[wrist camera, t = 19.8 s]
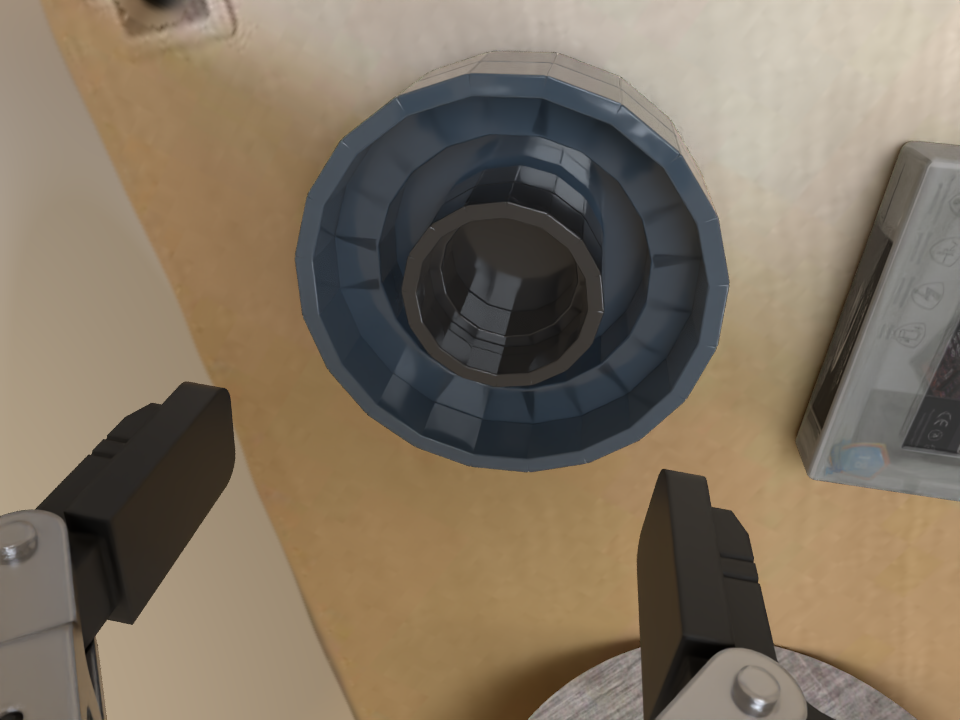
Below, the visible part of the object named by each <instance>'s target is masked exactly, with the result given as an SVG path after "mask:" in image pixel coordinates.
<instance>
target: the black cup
mask: <svg viewBox="0 0 960 720" xmlns="http://www.w3.org/2000/svg"><path fill="white" fill-rule="evenodd" d="M401 290H402V291H401V293H402V297H403V302H404V306H405V311H406V315H407V319H408V324H409V325H410V328H411V329H412V331H413V332H414V334H415V335H416V337H417V338H418V339H419V341H420V342H421V344H422V345H423V347H424V348H425V350H426V351H427V352H428V354H429V355H430V356H431V357H432V358H434V359H435V360H437V361H438V362H439V363H441V364H442V365H444V366H445V367H447V368H448V369H449V370H451V371H452V372H454V373H455V374H456V375H458V376H461V377H462V378H465V379H469V380H472V381H476V382H479V383H482V384H486V385H489V386H493V387H513V386H531V385H535V384H537V383H540V382H542V381H544V380H547V379H549V378H552V377H554V376H556V375H559V374H561V373H563V372H565V371H566V370H568V369H569V368H570V367H571V366H572V365H573V364H574V363H575V362H576V361H577V360H578V359H579V358H580V357H581V356H582V355H583V354H584V353H585V352H586V351H587V350H588V349H589V348H590V347H591V345H592V344H593V341H594V339H595V336H596V333H597V331H598V328H599V325H600V323H601V320H602V317H603V315H604V310H605V249H604V236H603V231H602V227H601V225H600V223H599V221H598V220H597V218H596V216H595V214H594V212H593V210H592V209H591V207H590V205H589V203H588V201H587V200H585V198H584V196H582V195H581V194H580V193H579V192H577V191H576V190H575V189H574V188H572V187H571V186H570V185H568V184H567V183H566V182H565V181H563V180H562V179H561V178H560V177H557V175H555V174H551V173H548V172H544V171H541V170H537V169H534V168H530V167H527V166H523V165H521V166H520V165H517V166H509V167H500V168H491V169H486V170H482V171H481V172H479V173H477V174H475V175H474V176H472V177H470V178H468V179H467V180H465V181H463V182H461V183H460V184H458V185H456V186H455V187H454V188H453V189H452V190H451V191H450V193H449V194H448V196H447V197H446V198H445V200H444V201H443V202H442V204H441V205H440V206H439V208H438V209H437V211H436V212H435V213H434V215H433V217H432V218H431V220H430V221H429V223H428V224H427V226H426V228H425V229H424V231H423V232H422V234H421V235H420V237H419V238H418V240H417V242H416V243H415V245H414V246H413V248H412V249H411V251H410V253H409V255H408V257H407V262H406V267H405V272H404V277H403V282H402V287H401Z"/></svg>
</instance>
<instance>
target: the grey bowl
mask: <svg viewBox="0 0 960 720" xmlns="http://www.w3.org/2000/svg"><path fill="white" fill-rule="evenodd" d="M517 165H520V166H521V165H523V166H527V167H530V168H534V169H537V170H541V171H544V172H548V173H551V174H555V175H557V177H560V178H561V179H562V180H563V181H565V182H566V183H567V184H568V185H570V186H571V187H572V188H574V189H575V190H576V191H577V192H579V193H580V194H581V195H582V196H584V198H585V200H587V201H588V203H589V205H590V207H591V209H592V210H593V212H594V214H595V216H596V218H597V220H598V221H599V223H600V225H601V227H602V231H603V236H604V249H605V310H604V315H603V317H602V320H601V323H600V325H599V328H598V331H597V333H596V336H595V339H594V341H593V344H592V345H591V347H590V348H589V349H588V350H587V351H586V352H585V353H584V354H583V355H582V356H581V357H580V358H579V359H578V360H577V361H576V362H575V363H574V364H573V365H572V366H571V367H570V368H569V369H568V370H566V371H565V372H563V373H561V374H559V375H556V376H554V377H552V378H549V379H547V380H544V381H542V382H540V383H537V384H535V385H531V386H513V387H493V386H489V385H486V384H482V383H479V382H476V381H472V380H469V379H465V378H462V377H461V376H458V375H456V374H455V373H454V372H452V371H451V370H449V369H448V368H447V367H445V366H444V365H442V364H441V363H439V362H438V361H437V360H435V359H434V358H432V357H431V356H430V355H429V354H428V352H427V351H426V350H425V348H424V347H423V345H422V344H421V342H420V341H419V339H418V338H417V337H416V335H415V334H414V332H413V331H412V329H411V328H410V325H409V324H408V319H407V315H406V311H405V306H404V302H403V297H402V293H401V291H402V290H401V287H402V282H403V277H404V272H405V267H406V262H407V257H408V255H409V253H410V251H411V249H412V248H413V246H414V245H415V243H416V242H417V240H418V238H419V237H420V235H421V234H422V232H423V231H424V229H425V228H426V226H427V224H428V223H429V221H430V220H431V218H432V217H433V215H434V213H435V212H436V211H437V209H438V208H439V206H440V205H441V204H442V202H443V201H444V200H445V198H446V197H447V196H448V194H449V193H450V191H451V190H452V189H453V188H454V187H455V186H456V185H458V184H460V183H461V182H463V181H465V180H467V179H468V178H470V177H472V176H474V175H475V174H477V173H479V172H481V171H482V170H486V169H491V168H500V167H509V166H517ZM295 264H296V271H297V279H298V286H299V294H300V301H301V308H302V315H303V318H304V320H305V323H306V325H307V327H308V329H309V331H310V333H311V335H312V337H313V340H314V342H315V344H316V346H317V348H318V350H319V352H320V354H321V357H322V359H323V361H324V363H325V365H326V367H327V369H329V372H330V373H331V374H332V375H333V376H334V377H335V378H336V380H337V381H338V382H339V383H340V384H341V385H342V387H343V388H344V389H345V390H346V391H347V392H348V393H349V395H350V396H351V397H352V398H353V399H354V400H355V401H356V403H357V404H358V405H359V406H360V407H361V408H362V409H363V411H364V412H365V413H367V415H368V416H370V417H371V418H373V419H374V420H376V421H377V422H379V423H380V424H382V425H383V426H385V427H386V428H388V429H389V430H391V431H392V432H393V433H395V434H396V435H398V436H399V437H401V438H402V439H404V440H405V441H407V442H408V443H410V444H411V445H413V446H416V448H419V449H422V450H425V451H428V452H430V453H433V454H436V455H439V456H441V457H444V458H447V459H450V460H453V461H455V462H458V463H461V464H464V465H466V466H471V467H478V468H488V469H498V470H508V471H518V472H528V471H529V472H536V471H542V470H549V469H555V468H562V467H568V466H575V465H581V464H586V463H590V462H592V461H594V460H597V459H599V458H601V457H603V456H606V455H608V454H610V453H612V452H614V451H617V450H619V449H621V448H623V447H626V446H628V445H630V444H632V443H635V442H637V441H639V440H640V439H641V438H643V437H644V436H645V435H647V434H648V433H649V432H650V431H651V430H652V429H653V428H655V427H656V426H657V425H658V424H659V423H660V422H661V421H663V420H664V419H665V418H666V417H667V416H668V415H670V414H671V413H672V412H673V411H674V410H675V409H676V408H678V407H679V406H680V405H681V404H682V403H683V402H684V401H685V399H687V398H688V396H689V394H690V393H691V391H692V389H693V388H694V386H695V384H696V383H697V381H698V379H699V378H700V376H701V374H702V372H703V371H704V369H705V367H706V366H707V364H708V362H709V361H710V359H711V357H712V356H713V354H714V352H715V350H716V349H717V346H718V343H719V337H720V332H721V327H722V322H723V316H724V311H725V306H726V301H727V295H728V290H729V276H728V270H727V265H726V259H725V253H724V247H723V241H722V235H721V230H720V224H719V218H718V216H717V213H716V210H715V208H714V205H713V202H712V200H711V197H710V194H709V192H708V189H707V186H706V184H705V181H704V178H703V176H702V173H701V171H700V169H699V167H698V166H697V164H696V162H695V161H694V159H693V157H692V155H691V154H690V152H689V150H688V148H687V147H686V145H685V143H684V141H683V140H682V138H681V136H680V135H679V133H678V131H677V129H676V128H675V126H674V124H673V122H672V121H671V120H670V119H669V117H668V116H667V115H665V114H664V113H663V112H662V111H661V110H660V109H658V108H657V107H656V106H655V105H654V104H652V103H651V102H650V101H649V100H648V99H647V98H645V97H644V96H643V95H642V94H641V93H639V92H638V91H637V90H636V89H635V88H634V87H632V86H631V85H630V84H629V83H628V82H626V81H625V80H624V79H623V78H622V77H620V78H619V76H618V75H615V74H613V73H610V72H608V71H605V70H602V69H600V68H597V67H594V66H592V65H589V64H586V63H584V62H581V61H579V60H576V59H573V58H571V57H568V56H565V55H563V54H557V53H556V52H518V51H492V52H486V53H483V54H480V55H477V56H474V57H471V58H468V59H465V60H462V61H459V62H456V63H453V64H450V65H447V66H444V67H441V68H438V69H435V70H432V71H431V72H429V73H427V74H425V75H424V76H423V77H421V78H420V79H419V80H417V81H416V82H415V83H413V84H412V85H410V86H409V87H408V88H406V89H405V90H404V91H402V92H401V93H400V94H398V95H397V96H396V97H394V98H393V99H392V100H391V101H389V102H388V103H387V104H385V105H384V106H383V107H382V108H380V109H379V110H378V111H376V112H375V113H374V114H373V115H371V116H370V117H369V118H368V119H366V120H365V121H364V122H362V123H361V124H360V125H359V126H357V127H356V128H355V129H353V130H352V131H351V132H350V133H348V134H347V135H346V136H344V137H343V139H342V140H341V141H340V142H339V143H338V145H337V147H336V148H335V150H334V152H333V153H332V155H331V156H330V158H329V160H328V161H327V163H326V165H325V166H324V168H323V170H322V171H321V173H320V174H319V176H318V178H317V179H316V181H315V183H314V184H313V186H312V187H311V189H310V191H309V192H308V196H307V197H306V202H305V207H304V212H303V217H302V222H301V227H300V232H299V237H298V242H297V247H296V252H295Z"/></svg>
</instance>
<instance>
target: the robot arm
mask: <svg viewBox="0 0 960 720" xmlns="http://www.w3.org/2000/svg"><path fill="white" fill-rule="evenodd" d="M234 463H235V444H234V432H233V421H232V409H231V399H230V394H229V392H228V390H227V389H225V388H220V387H215V386H209V385H204V384H198V383H193V382H183V383H182V384H181V385H179V387H178V388H177V389H176V390H175V391H174V392H173V393H172V394H171V395H170V396H169V397H168V398H167V399H166V401H165V402H164V403H163V404H162V405H161V404H156V403H150V404H149V405H147V406H145V407H143V408H141V409H139V410H137V411H136V412H134V413H132V414H130V415H128V416H126V417H125V418H124V419H123V420H122V421H121V422H120V423H119V424H118V425H117V426H116V427H115V428H114V429H113V430H112V431H111V432H110V433H109V434H108V435H107V439H106V440H105V439H103V440H102V441H101V442H100V443H99V444H98V445H97V446H96V448H95V449H93V451H92V454H91V455H88V456H87V457H86V458H85V459H84V460H83V461H82V462H81V463H80V464H79V465H78V466H77V467H76V468H75V469H74V470H73V471H72V472H71V473H70V474H69V475H68V476H67V477H66V478H65V479H64V480H63V481H62V482H61V483H60V485H58V486H57V488H55V490H53V492H52V493H51V494H50V495H49V496H48V497H47V498H46V499H45V500H44V501H43V502H42V503H41V504H40V505H39V506H38V507H37V508H36V509H35V510H21V511H16V512H12V513H8V514H5V515H2V516H0V720H107V715H106V708H105V700H104V692H103V684H102V676H101V668H100V660H99V652H98V645H97V641H96V637H95V636H96V634H97V633H98V631H99V630H100V629H101V627H102V626H103V624H104V623H105V622H106V620H112V621H117V622H121V623H126V624H131V625H133V623H134V622H135V620H136V619H137V618H138V616H139V615H140V613H141V612H142V610H143V609H144V607H145V606H146V604H147V603H148V601H149V600H150V598H151V597H152V595H153V594H154V592H155V591H156V589H157V588H158V586H159V585H160V584H161V582H162V580H163V579H164V578H165V576H166V575H167V573H168V572H169V570H170V569H171V567H172V566H173V564H174V563H175V561H176V560H177V558H178V557H179V555H180V554H181V552H182V551H183V550H184V548H185V547H186V545H187V544H188V542H189V541H190V539H191V538H192V536H193V535H194V533H195V532H196V530H197V529H198V527H199V526H200V524H201V523H202V521H203V520H204V518H205V517H206V515H207V514H208V513H209V511H210V509H211V508H212V507H213V505H214V504H215V502H216V501H217V499H218V498H219V496H220V495H221V493H222V492H223V490H224V489H225V488H226V486H227V484H228V482H229V480H230V478H231V475H232V472H233V468H234ZM753 561H754V556H753V552H752V548H751V543H750V539H749V534H748V533H747V532H746V530H745V529H744V527H743V526H742V525H741V523H740V522H739V520H738V519H737V518H736V516H735V515H734V513H733V512H732V511H730V510H725V509H719V508H714V507H711V502H710V496H709V490H708V485H707V480H706V478H705V477H704V476H700V475H694V474H688V473H683V472H677V471H672V470H666V469H662V470H661V472H660V474H659V476H658V479H657V482H656V485H655V489H654V492H653V495H652V498H651V501H650V505H649V508H648V511H647V514H646V517H645V521H644V524H643V527H642V530H641V534H640V539H639V545H638V553H637V580H638V603H639V625H640V648H641V671H642V694H643V716H644V720H836V719H833V718H831V717H830V716H828V715H826V714H824V713H822V712H821V711H819V710H818V709H816V708H815V707H813V706H812V705H811V704H809V703H808V702H807V701H806V699H805V696H804V694H803V691H802V690H801V688H800V686H799V684H798V683H797V681H796V680H795V679H794V678H793V676H792V675H791V674H790V673H789V672H788V671H787V670H786V669H785V668H784V667H783V666H781V665H780V664H779V663H778V660H777V657H776V653H775V648H774V644H773V640H772V635H771V631H770V626H769V622H768V618H767V613H766V609H765V605H764V600H763V596H762V591H761V587H760V584H758V579H759V578H758V574H757V570H756V565H755V563H753Z"/></svg>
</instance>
